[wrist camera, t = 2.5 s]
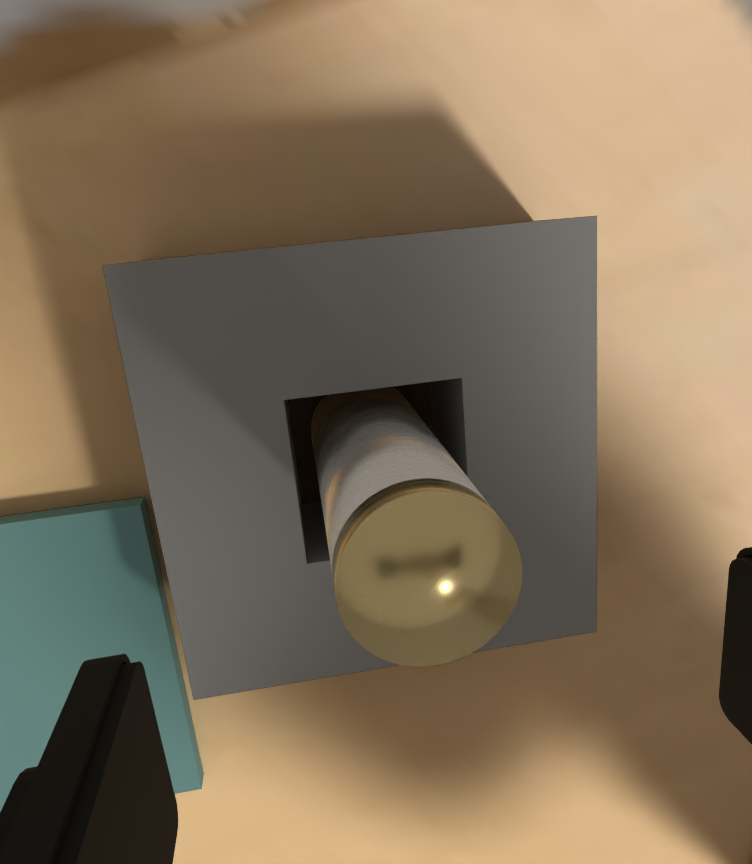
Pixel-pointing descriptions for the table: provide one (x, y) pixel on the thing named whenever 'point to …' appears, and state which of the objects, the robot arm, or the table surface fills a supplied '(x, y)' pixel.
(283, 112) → the table surface
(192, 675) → the block
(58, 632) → the mat
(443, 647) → the peg
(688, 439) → the table surface
